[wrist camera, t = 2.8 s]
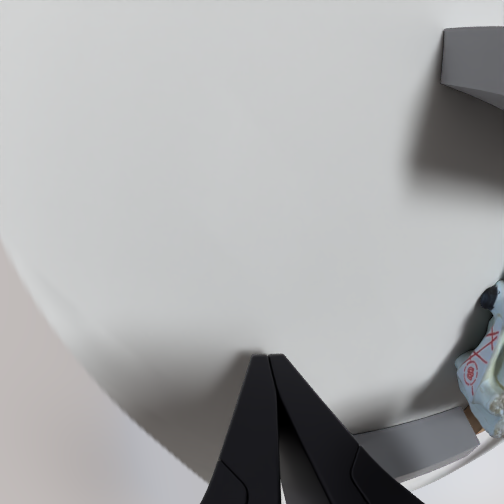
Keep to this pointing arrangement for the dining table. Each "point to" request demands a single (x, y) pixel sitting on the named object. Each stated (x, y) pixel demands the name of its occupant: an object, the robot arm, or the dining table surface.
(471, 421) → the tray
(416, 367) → the dining table surface
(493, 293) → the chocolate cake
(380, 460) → the bay
